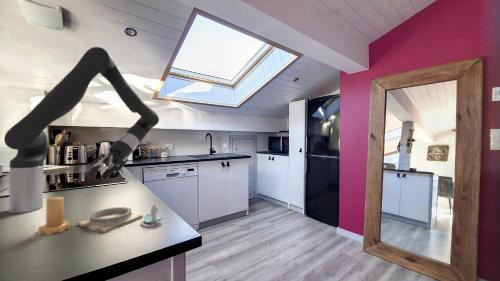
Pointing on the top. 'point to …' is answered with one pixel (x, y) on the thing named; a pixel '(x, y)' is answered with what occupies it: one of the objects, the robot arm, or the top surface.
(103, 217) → the carrier plate
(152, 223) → the pacifier
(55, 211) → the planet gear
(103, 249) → the top surface
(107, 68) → the robot arm
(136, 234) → the top surface
